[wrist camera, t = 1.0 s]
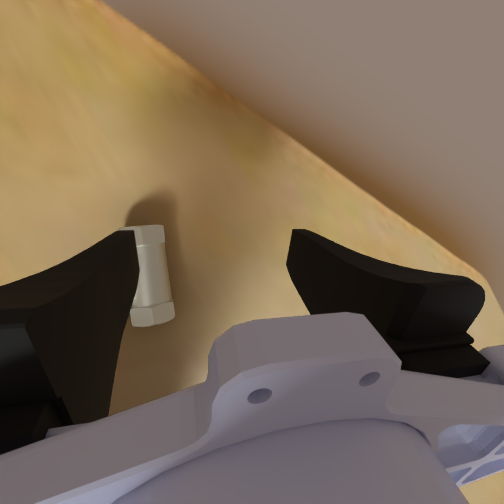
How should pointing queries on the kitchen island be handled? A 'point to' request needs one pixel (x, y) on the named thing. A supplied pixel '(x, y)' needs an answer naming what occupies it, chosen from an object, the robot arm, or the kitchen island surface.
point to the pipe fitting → (151, 278)
